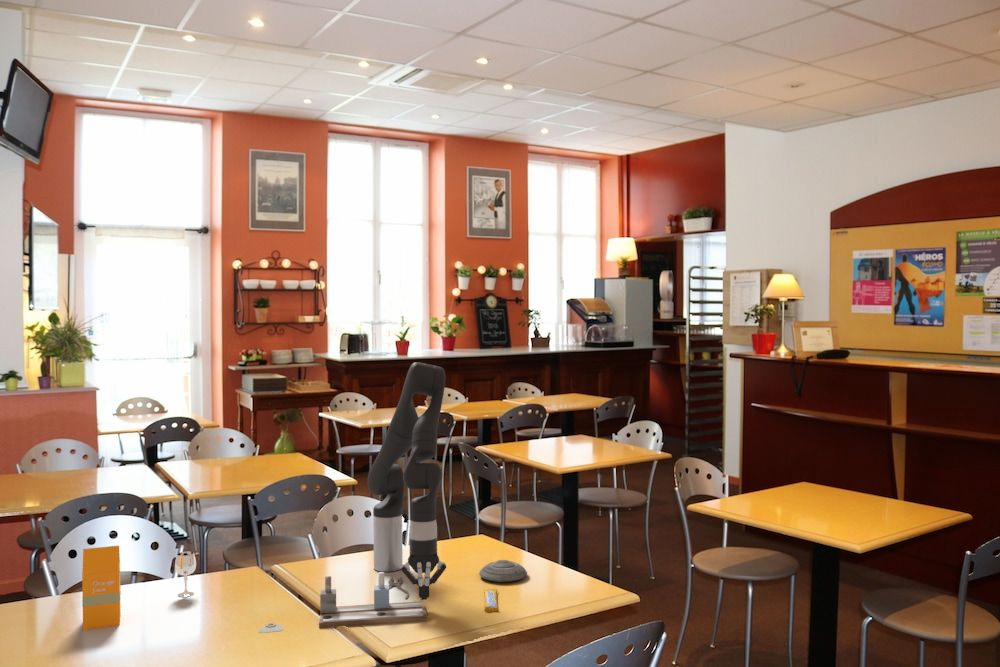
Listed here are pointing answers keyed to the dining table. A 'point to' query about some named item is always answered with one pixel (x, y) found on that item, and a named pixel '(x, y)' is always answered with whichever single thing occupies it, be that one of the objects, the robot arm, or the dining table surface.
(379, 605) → the pointer block
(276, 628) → the mounting bracket
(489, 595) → the candy bar
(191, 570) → the wineglass
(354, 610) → the board
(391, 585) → the pliers
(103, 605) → the orange juice
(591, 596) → the dining table surface
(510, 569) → the flying saucer
